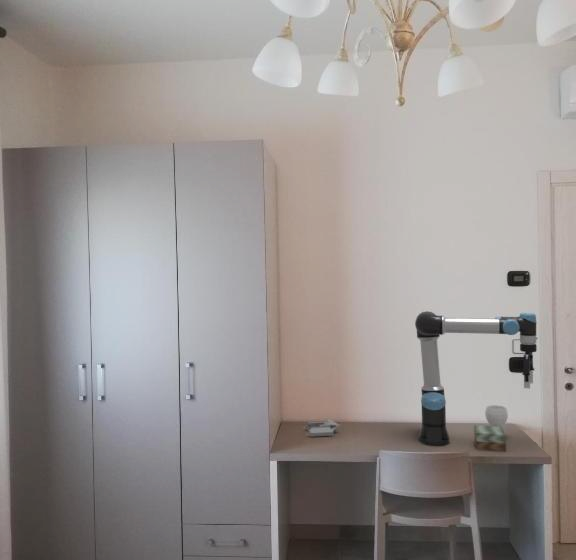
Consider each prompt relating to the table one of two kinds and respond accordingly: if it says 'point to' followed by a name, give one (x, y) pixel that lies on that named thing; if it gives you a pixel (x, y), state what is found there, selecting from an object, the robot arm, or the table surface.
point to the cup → (496, 415)
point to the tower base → (490, 446)
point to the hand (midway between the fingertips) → (528, 385)
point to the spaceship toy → (321, 428)
